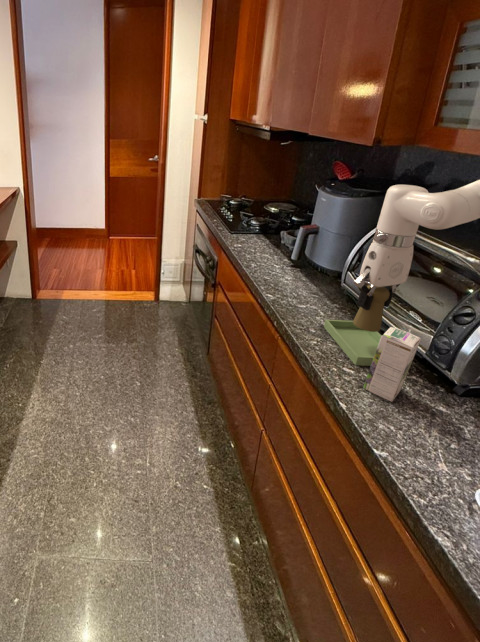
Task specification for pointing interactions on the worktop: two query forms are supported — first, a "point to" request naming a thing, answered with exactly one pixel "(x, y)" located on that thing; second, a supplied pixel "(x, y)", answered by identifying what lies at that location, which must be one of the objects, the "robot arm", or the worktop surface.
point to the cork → (372, 311)
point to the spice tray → (354, 340)
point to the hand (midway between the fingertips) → (372, 305)
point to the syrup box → (391, 363)
